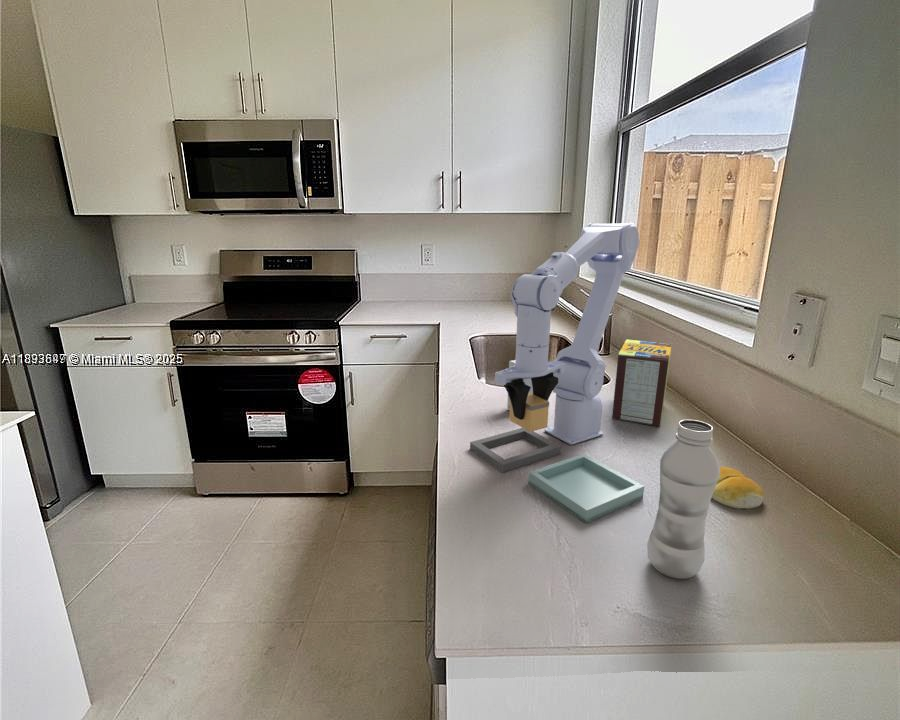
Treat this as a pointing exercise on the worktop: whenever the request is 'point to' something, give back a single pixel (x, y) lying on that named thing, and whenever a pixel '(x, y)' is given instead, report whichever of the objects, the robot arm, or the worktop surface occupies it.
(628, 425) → the worktop surface
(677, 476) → the plastic bottle
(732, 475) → the bread roll
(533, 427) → the tan box
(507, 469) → the grey rectangular frame
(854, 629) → the worktop surface
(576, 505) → the parts tray
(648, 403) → the protein box
